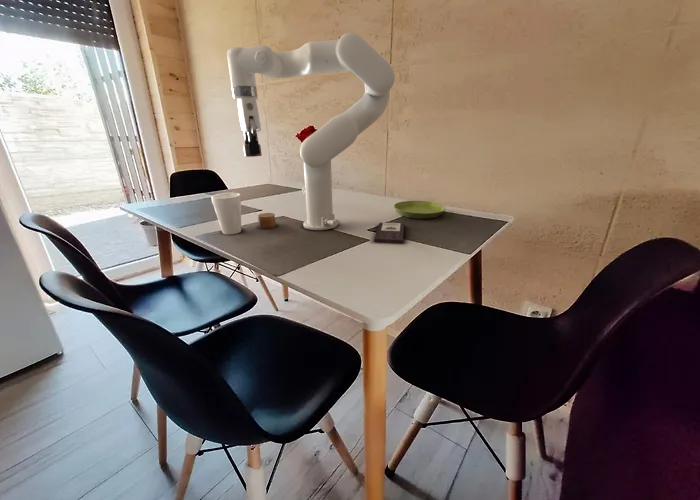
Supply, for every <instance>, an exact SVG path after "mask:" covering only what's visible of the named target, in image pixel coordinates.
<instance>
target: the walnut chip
mask: <svg viewBox="0 0 700 500" xmlns="http://www.w3.org/2000/svg"><path fill="white" fill-rule="evenodd" d="M242 146H243V147H242V148H243V155H244V157H246V158H250V157H262V148H261V147H262V146H261V144H260V143H259V150H260V154H250V152H249V145H245V144H243V145H242Z"/></svg>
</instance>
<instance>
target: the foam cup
mask: <svg viewBox="0 0 700 500" xmlns="http://www.w3.org/2000/svg"><path fill="white" fill-rule="evenodd" d="M210 200H211V204H212V205H213V208H214V211H215V215H216V217H217V221H218V223H219V227H220V230H221V232H222V234H223V235H235V234H240V233H241V232H242V194H241V193H239V192H222V193H216V194H212V195H211V196H210Z"/></svg>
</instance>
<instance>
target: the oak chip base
mask: <svg viewBox="0 0 700 500" xmlns="http://www.w3.org/2000/svg"><path fill="white" fill-rule="evenodd" d="M258 227H259V229H264V230H268V229H273V228H275V227H277V225H276V220H275V221H273V222H270V223H260V222H259V221H258Z"/></svg>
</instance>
